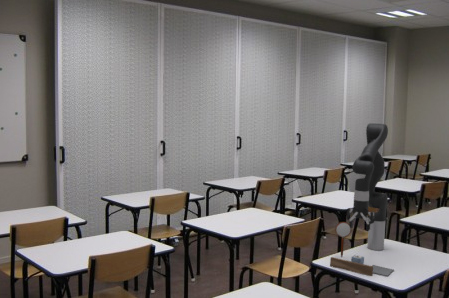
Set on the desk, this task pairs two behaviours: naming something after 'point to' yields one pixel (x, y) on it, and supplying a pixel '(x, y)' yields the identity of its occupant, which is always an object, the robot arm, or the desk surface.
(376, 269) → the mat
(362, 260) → the letter cube
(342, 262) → the bar
